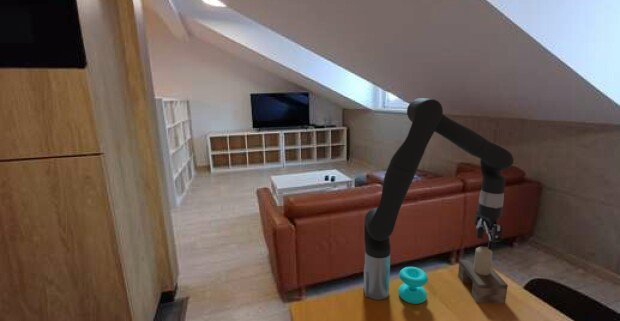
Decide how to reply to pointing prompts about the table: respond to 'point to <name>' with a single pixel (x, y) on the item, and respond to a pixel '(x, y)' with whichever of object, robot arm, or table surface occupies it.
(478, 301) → the bridge
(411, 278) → the turquoise spool
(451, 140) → the robot arm
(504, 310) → the table surface
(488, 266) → the candle
